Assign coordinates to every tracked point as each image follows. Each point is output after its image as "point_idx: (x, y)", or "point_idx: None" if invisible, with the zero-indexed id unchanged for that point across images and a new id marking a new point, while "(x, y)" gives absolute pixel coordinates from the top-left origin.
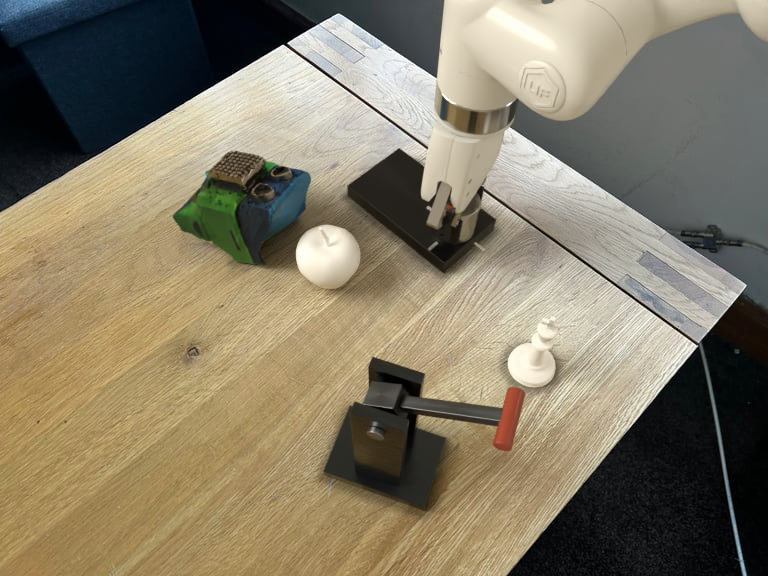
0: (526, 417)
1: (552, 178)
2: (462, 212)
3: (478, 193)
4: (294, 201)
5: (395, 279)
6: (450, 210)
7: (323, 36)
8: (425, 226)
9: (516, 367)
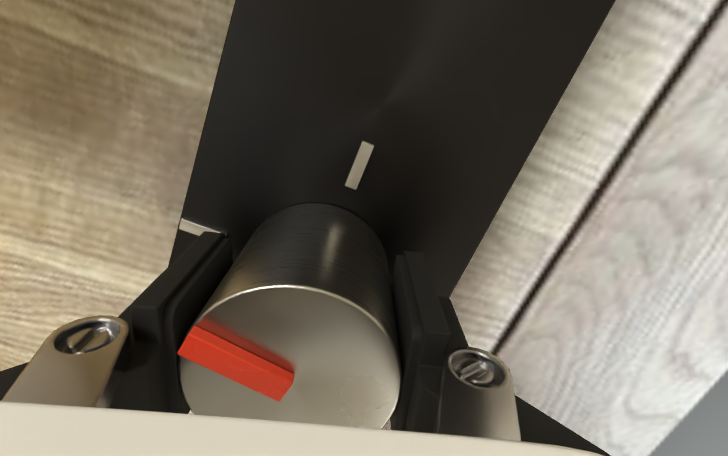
0: None
1: (639, 410)
2: (224, 414)
3: (391, 420)
4: None
5: (78, 133)
6: (202, 367)
7: None
8: (275, 170)
9: None
